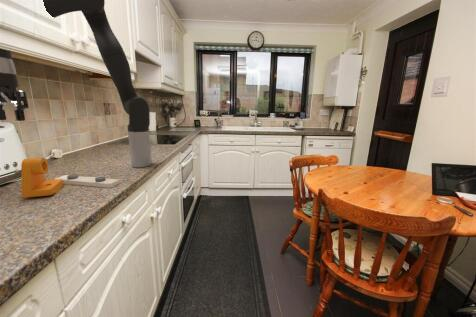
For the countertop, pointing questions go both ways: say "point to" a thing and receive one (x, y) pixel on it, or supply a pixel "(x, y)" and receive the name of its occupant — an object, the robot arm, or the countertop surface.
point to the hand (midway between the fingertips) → (11, 120)
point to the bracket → (37, 179)
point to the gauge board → (89, 181)
